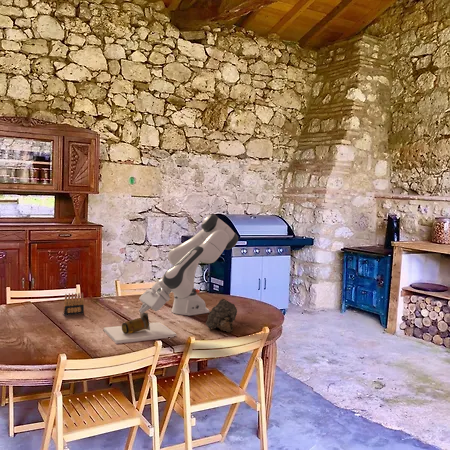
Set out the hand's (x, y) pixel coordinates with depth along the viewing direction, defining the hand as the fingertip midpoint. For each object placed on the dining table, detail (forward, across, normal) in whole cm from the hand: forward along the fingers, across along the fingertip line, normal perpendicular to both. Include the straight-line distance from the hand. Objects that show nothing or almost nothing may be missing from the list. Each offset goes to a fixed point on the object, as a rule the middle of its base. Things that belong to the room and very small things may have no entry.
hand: (140, 312), depth 238 cm
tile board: (+8, +1, +7) cm, 11 cm away
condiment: (+1, +1, +5) cm, 5 cm away
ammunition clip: (+24, -46, -8) cm, 52 cm away
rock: (-22, +8, +37) cm, 44 cm away
